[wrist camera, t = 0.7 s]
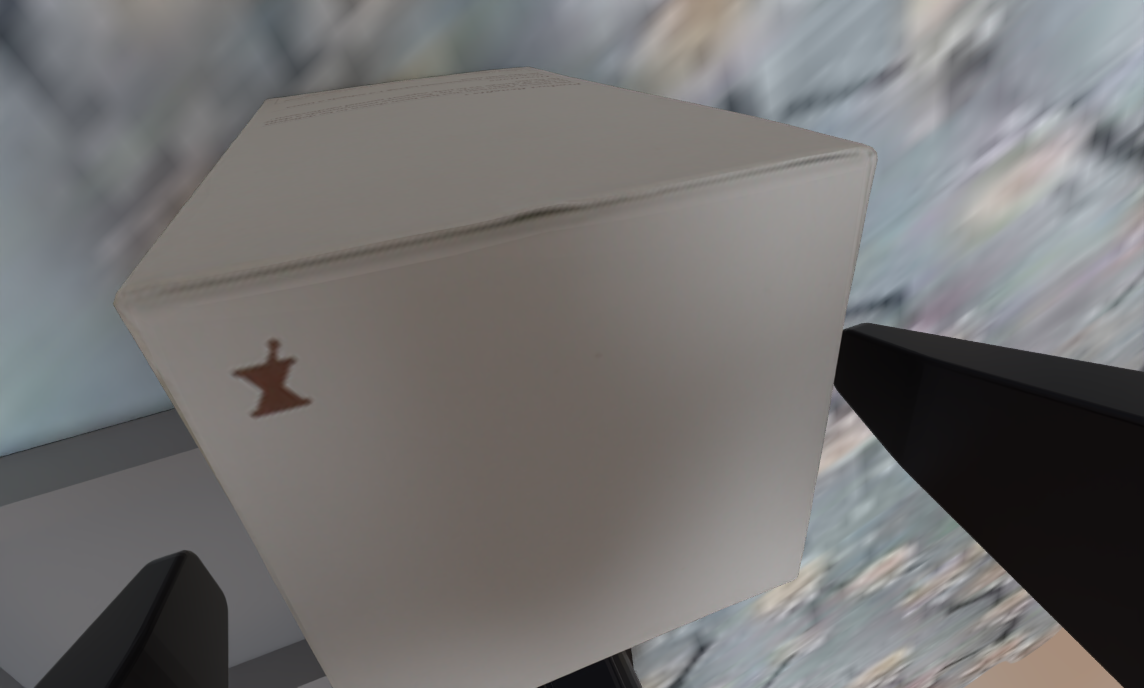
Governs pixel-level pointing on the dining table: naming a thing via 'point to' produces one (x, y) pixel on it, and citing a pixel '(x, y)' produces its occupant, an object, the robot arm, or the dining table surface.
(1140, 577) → the robot arm
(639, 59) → the dining table surface
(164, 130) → the dining table surface
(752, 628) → the dining table surface
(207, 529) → the tray
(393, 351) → the supplement box
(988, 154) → the dining table surface
